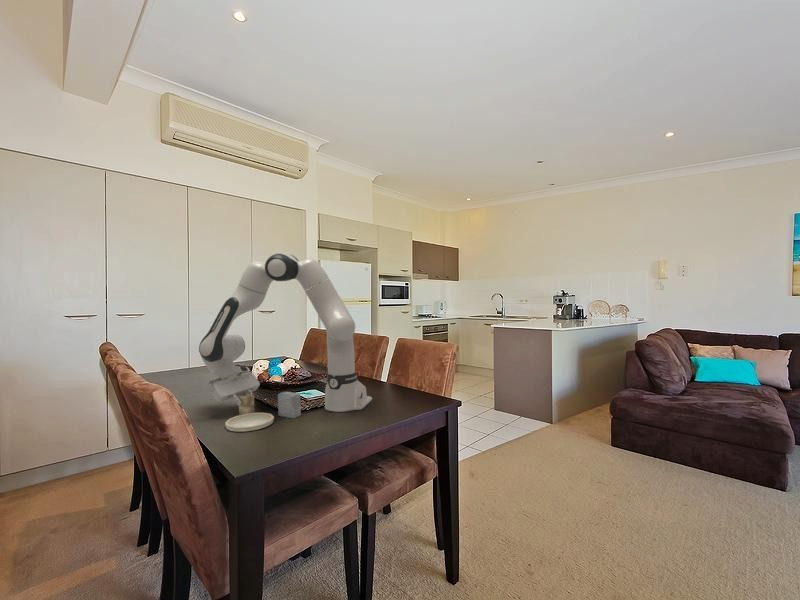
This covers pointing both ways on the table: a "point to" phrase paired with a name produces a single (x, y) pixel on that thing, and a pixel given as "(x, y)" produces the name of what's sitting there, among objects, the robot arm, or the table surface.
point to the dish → (249, 422)
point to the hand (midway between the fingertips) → (246, 402)
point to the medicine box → (289, 404)
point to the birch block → (246, 404)
